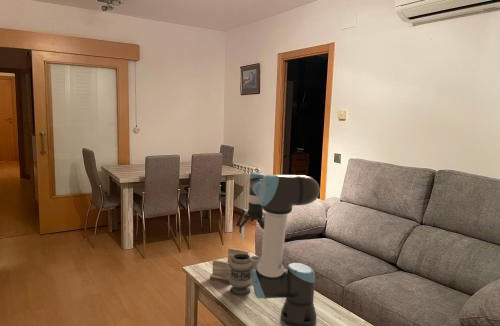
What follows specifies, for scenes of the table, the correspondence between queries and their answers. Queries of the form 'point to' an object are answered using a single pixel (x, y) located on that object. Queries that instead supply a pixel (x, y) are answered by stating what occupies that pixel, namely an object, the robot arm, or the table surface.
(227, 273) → the shelf
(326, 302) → the table surface
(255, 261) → the mug
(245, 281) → the apothecary jar
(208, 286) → the table surface
